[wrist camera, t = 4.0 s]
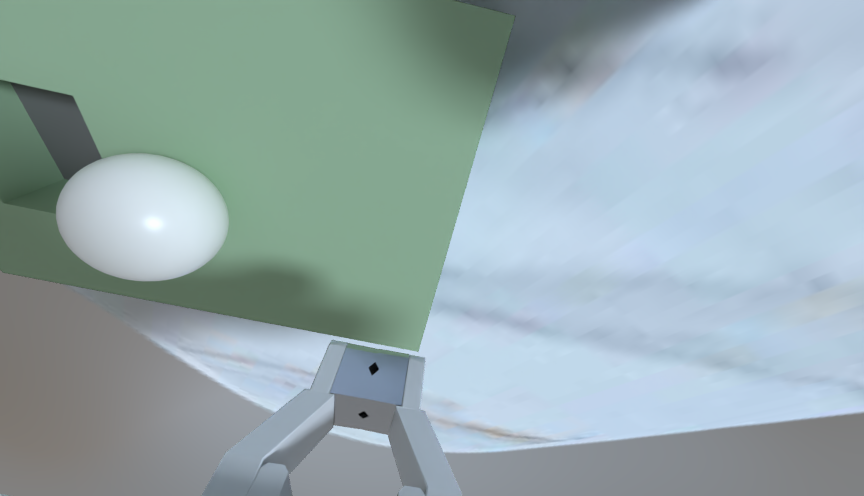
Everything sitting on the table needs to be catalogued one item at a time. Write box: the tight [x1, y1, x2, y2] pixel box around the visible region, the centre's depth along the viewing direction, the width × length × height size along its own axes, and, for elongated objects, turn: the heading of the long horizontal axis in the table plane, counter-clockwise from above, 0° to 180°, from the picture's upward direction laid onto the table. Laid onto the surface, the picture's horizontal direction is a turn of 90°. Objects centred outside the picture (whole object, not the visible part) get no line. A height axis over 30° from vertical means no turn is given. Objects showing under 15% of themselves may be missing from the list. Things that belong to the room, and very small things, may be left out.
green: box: [0, 0, 515, 352], centre depth 16 cm, size 18×26×4 cm
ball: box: [56, 153, 229, 281], centre depth 12 cm, size 5×5×5 cm
